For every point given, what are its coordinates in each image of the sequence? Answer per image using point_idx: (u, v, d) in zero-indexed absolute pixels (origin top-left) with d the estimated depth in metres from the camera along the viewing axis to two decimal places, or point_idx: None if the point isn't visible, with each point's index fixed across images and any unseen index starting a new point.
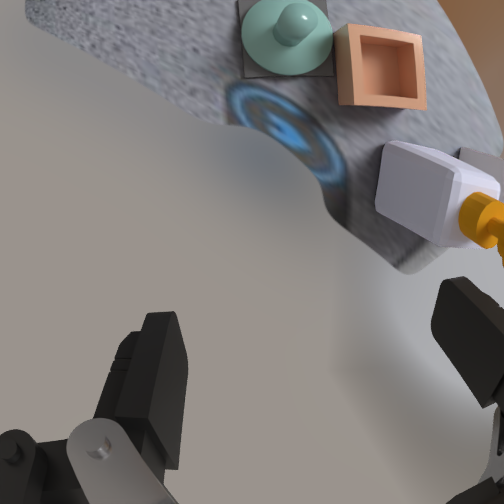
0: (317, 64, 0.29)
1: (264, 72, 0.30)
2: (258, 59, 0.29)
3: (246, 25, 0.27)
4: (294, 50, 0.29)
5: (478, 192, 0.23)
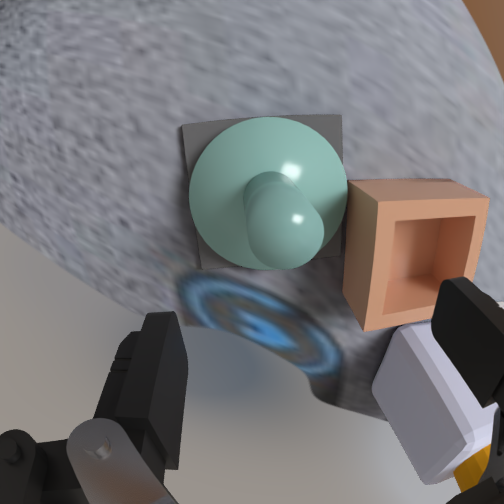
0: None
1: None
2: (220, 248, 0.21)
3: (196, 188, 0.19)
4: None
5: (489, 444, 0.15)
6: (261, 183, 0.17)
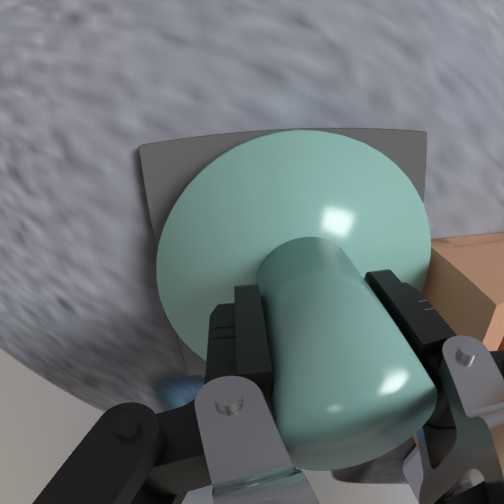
0: None
1: None
2: None
3: (169, 268, 0.10)
4: None
5: None
6: (298, 282, 0.08)
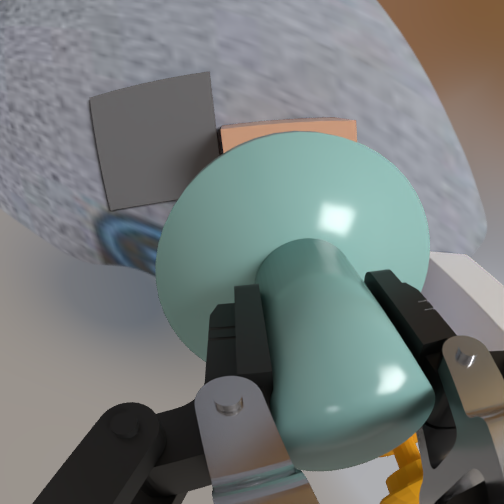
0: None
1: (131, 201, 0.25)
2: None
3: (168, 269, 0.10)
4: None
5: None
6: (297, 283, 0.08)
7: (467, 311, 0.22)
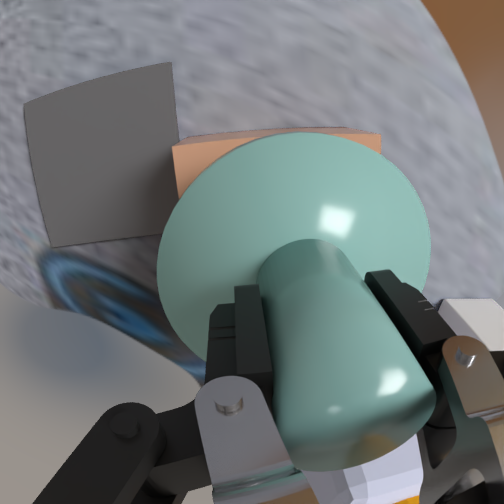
0: None
1: (75, 237, 0.18)
2: None
3: (170, 270, 0.10)
4: None
5: (403, 499, 0.11)
6: (298, 284, 0.08)
7: None
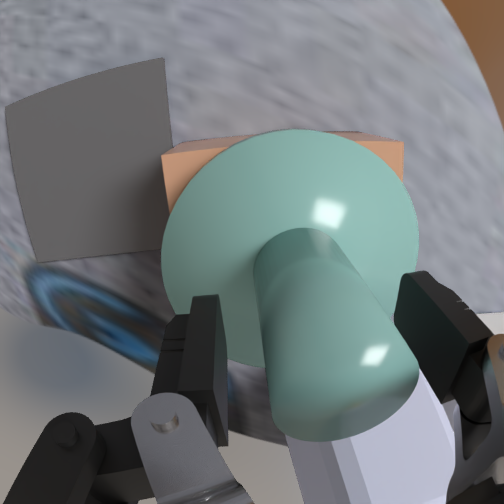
0: None
1: (61, 252, 0.16)
2: None
3: (173, 257, 0.11)
4: None
5: None
6: (291, 266, 0.09)
7: None
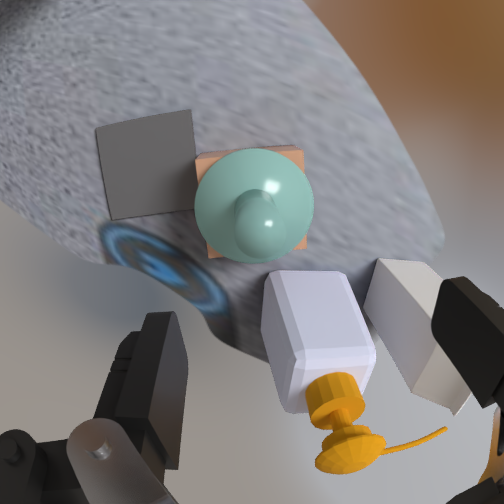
0: (291, 247, 0.28)
1: (129, 213, 0.31)
2: (218, 247, 0.27)
3: (200, 202, 0.26)
4: None
5: (334, 372, 0.24)
6: (246, 199, 0.23)
7: (410, 310, 0.27)
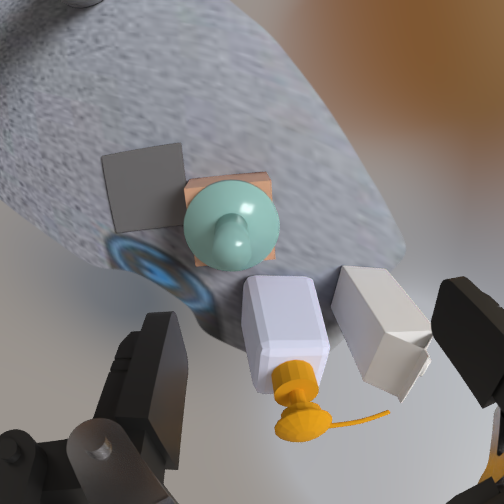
0: (261, 258, 0.35)
1: (130, 227, 0.38)
2: (203, 258, 0.34)
3: (188, 223, 0.32)
4: None
5: (293, 360, 0.31)
6: (222, 223, 0.30)
7: (363, 311, 0.34)
